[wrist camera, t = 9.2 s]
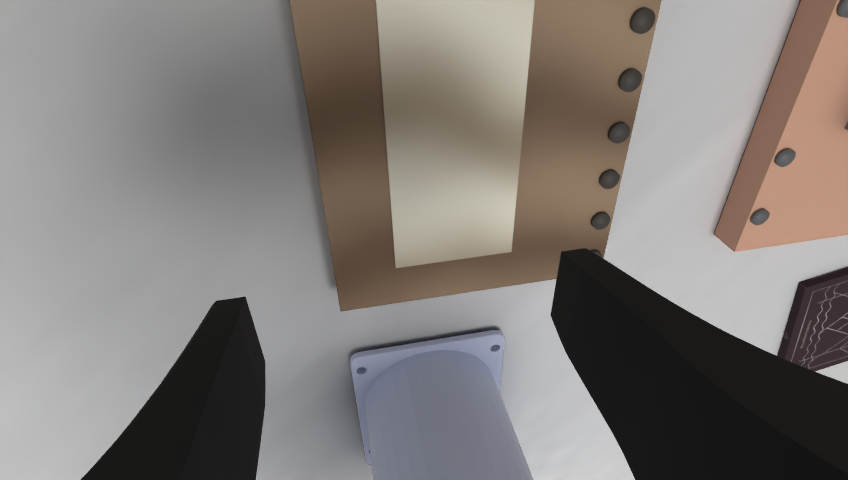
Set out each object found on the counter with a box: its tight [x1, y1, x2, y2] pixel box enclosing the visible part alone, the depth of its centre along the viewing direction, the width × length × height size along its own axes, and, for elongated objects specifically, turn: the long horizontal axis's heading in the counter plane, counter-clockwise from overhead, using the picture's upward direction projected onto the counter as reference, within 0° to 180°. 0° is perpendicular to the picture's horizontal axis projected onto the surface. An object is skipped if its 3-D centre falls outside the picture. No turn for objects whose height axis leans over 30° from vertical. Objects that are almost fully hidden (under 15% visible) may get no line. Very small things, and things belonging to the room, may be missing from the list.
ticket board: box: [290, 0, 661, 311], centre depth 19 cm, size 16×12×2 cm
